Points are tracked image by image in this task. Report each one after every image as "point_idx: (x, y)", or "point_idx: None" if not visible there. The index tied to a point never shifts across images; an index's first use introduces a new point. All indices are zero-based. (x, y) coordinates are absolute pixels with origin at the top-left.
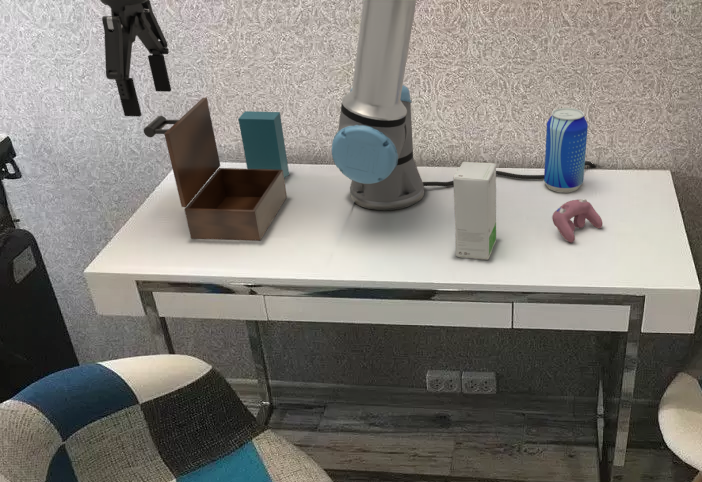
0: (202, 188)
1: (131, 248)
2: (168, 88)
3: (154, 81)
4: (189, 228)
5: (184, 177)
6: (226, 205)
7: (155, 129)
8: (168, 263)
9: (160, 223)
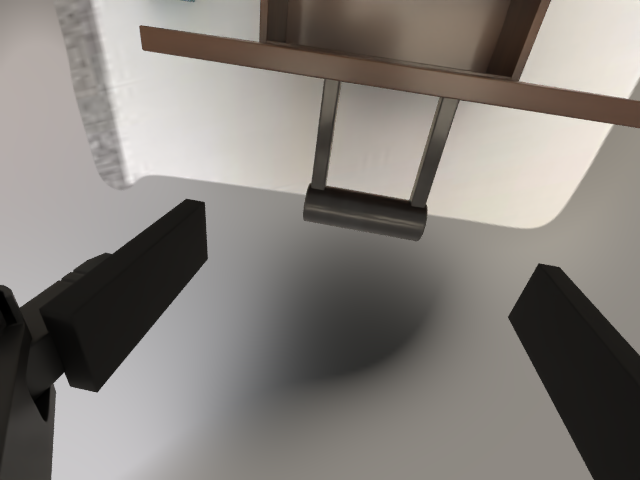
0: None
1: (482, 192)
2: (198, 211)
3: (186, 281)
4: None
5: (517, 81)
6: (334, 31)
7: (416, 204)
8: None
9: (389, 163)
